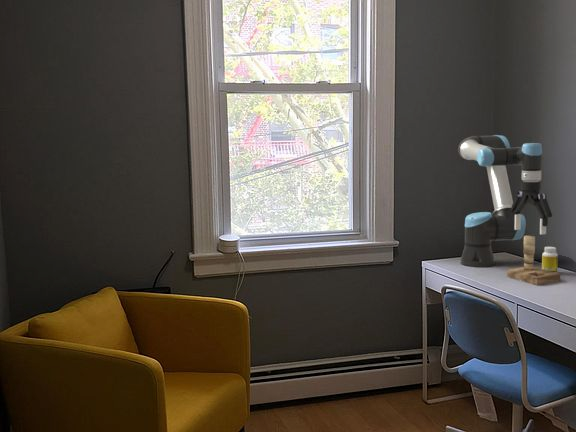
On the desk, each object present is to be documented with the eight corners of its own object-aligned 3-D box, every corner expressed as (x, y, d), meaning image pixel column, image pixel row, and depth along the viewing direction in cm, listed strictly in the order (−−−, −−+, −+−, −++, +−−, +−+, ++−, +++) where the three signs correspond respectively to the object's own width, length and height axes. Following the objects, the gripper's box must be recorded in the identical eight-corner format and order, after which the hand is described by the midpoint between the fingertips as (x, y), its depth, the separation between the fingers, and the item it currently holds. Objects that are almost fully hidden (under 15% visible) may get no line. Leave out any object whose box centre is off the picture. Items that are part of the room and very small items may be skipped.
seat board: (506, 276, 260) (507, 269, 260) (529, 272, 266) (530, 266, 265) (536, 285, 246) (536, 278, 246) (560, 280, 251) (560, 273, 251)
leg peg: (520, 269, 261) (521, 236, 259) (528, 267, 263) (529, 235, 260) (528, 271, 257) (529, 238, 255) (536, 269, 259) (537, 236, 256)
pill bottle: (558, 274, 261) (559, 249, 259) (543, 274, 262) (544, 249, 261) (555, 271, 267) (556, 246, 265) (540, 271, 268) (541, 246, 267)
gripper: (501, 179, 264) (501, 228, 267) (548, 183, 241) (547, 237, 244) (515, 178, 267) (514, 226, 270) (562, 182, 244) (561, 235, 247)
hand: (529, 231), depth 257 cm, fingers open, 13 cm apart
